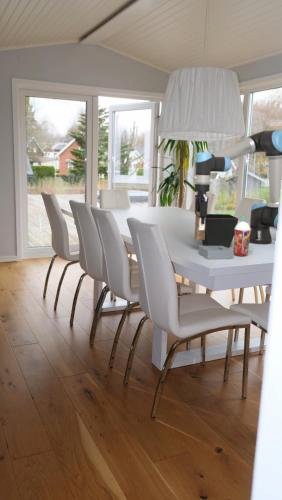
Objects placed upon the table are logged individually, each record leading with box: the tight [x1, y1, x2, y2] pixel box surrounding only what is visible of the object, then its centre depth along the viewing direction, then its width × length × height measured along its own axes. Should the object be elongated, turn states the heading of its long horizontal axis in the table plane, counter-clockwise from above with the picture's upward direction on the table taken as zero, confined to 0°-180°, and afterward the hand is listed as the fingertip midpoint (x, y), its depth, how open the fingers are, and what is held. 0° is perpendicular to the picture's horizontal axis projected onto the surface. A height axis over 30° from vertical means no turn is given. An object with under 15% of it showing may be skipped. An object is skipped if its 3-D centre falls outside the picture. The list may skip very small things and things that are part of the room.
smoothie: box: [233, 215, 251, 257], centre depth 225 cm, size 8×8×20 cm
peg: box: [194, 212, 206, 241], centre depth 230 cm, size 4×4×14 cm
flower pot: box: [201, 213, 239, 248], centre depth 249 cm, size 19×19×17 cm
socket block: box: [197, 245, 234, 260], centre depth 222 cm, size 13×13×4 cm
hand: (200, 229), depth 230 cm, fingers closed on peg, 4 cm apart
